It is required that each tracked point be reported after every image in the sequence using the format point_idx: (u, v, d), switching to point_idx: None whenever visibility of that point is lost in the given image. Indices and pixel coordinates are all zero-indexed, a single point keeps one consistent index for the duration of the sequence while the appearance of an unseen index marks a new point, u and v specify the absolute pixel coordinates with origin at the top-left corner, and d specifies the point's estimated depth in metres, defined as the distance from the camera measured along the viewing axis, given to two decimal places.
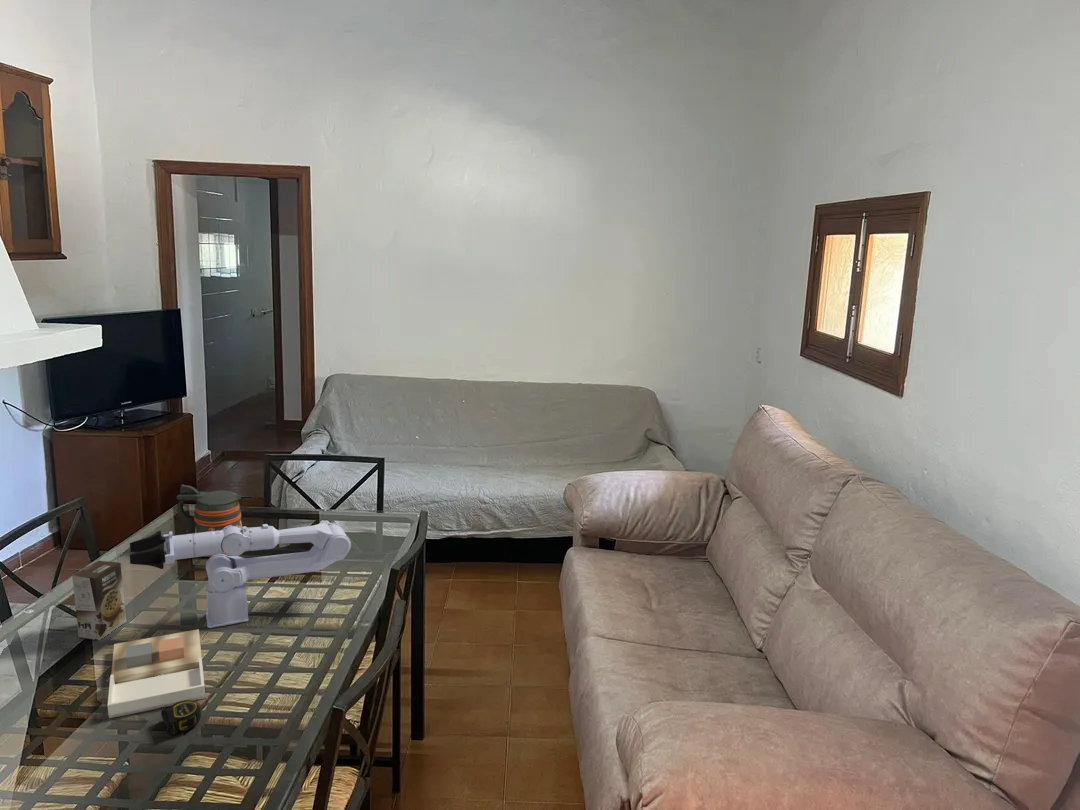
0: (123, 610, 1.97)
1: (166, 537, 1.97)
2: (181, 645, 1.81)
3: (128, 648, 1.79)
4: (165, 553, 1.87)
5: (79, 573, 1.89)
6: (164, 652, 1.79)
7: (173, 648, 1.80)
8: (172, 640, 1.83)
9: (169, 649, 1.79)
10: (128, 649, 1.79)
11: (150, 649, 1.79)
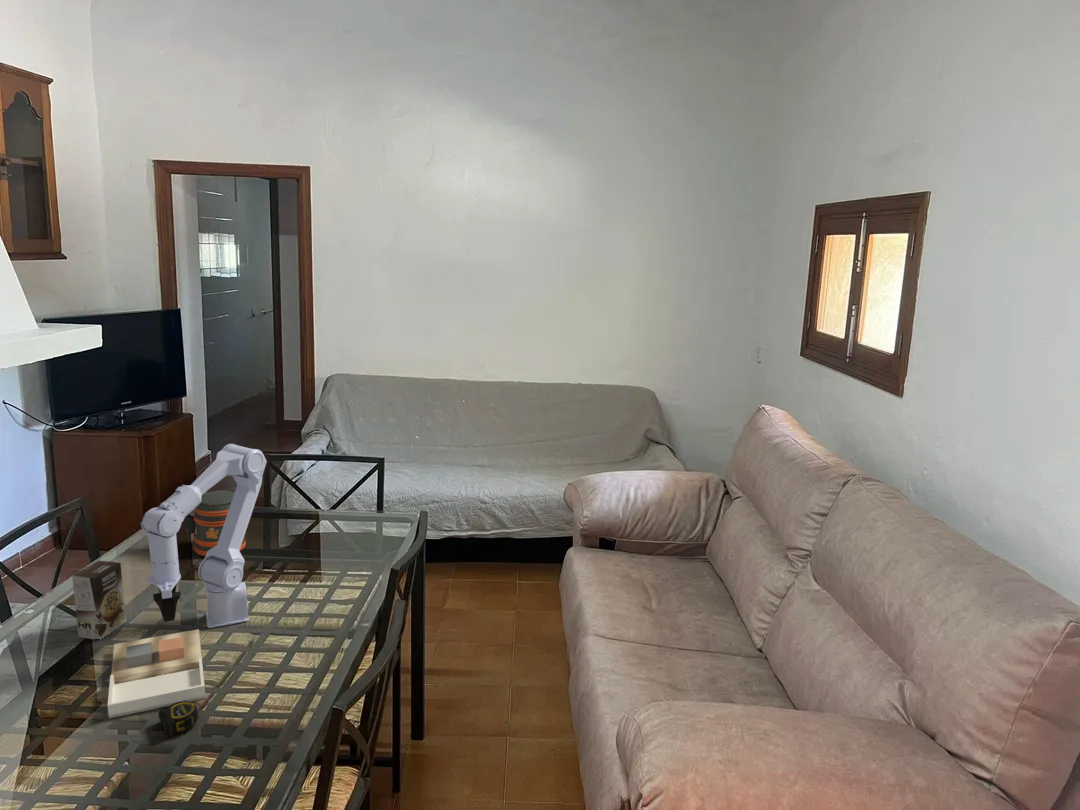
0: (123, 610, 1.97)
1: None
2: (181, 645, 1.81)
3: (128, 648, 1.79)
4: None
5: (79, 573, 1.89)
6: (164, 652, 1.79)
7: (173, 648, 1.80)
8: (172, 640, 1.83)
9: (169, 649, 1.79)
10: (128, 649, 1.79)
11: (150, 649, 1.79)
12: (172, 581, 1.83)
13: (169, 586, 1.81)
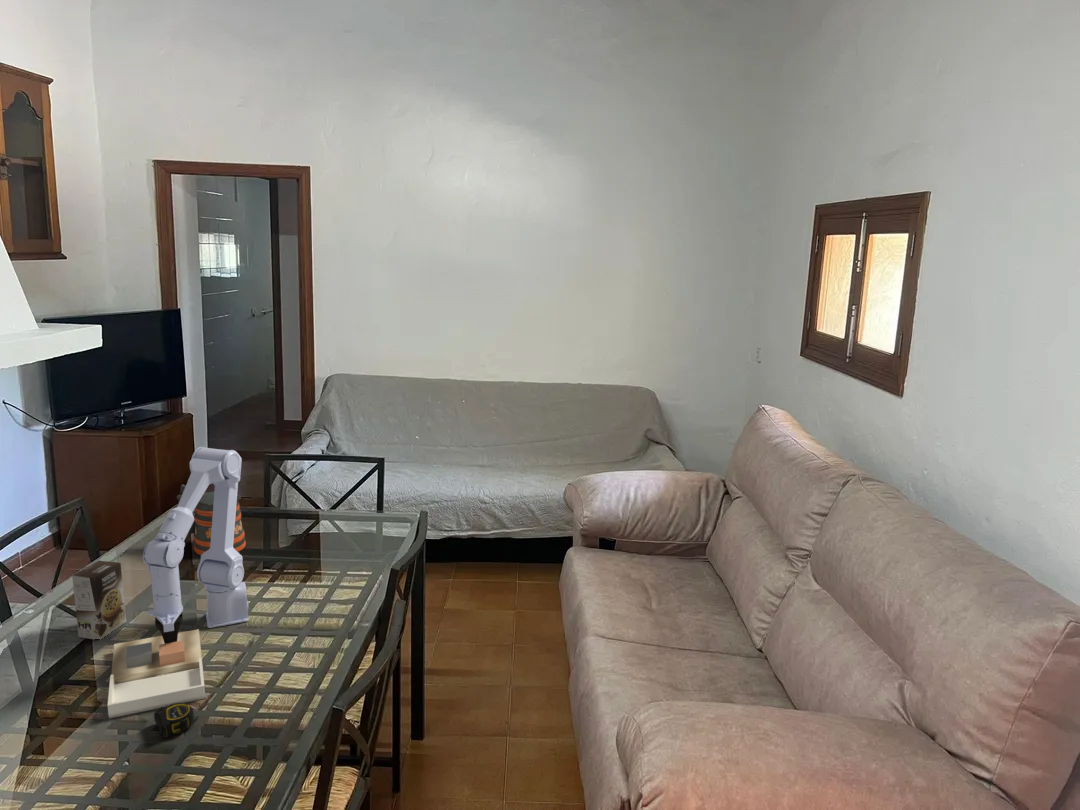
0: (123, 610, 1.97)
1: None
2: (181, 649, 1.79)
3: (128, 648, 1.79)
4: None
5: (79, 573, 1.89)
6: (164, 656, 1.77)
7: (174, 651, 1.78)
8: (173, 644, 1.81)
9: (169, 653, 1.78)
10: (128, 649, 1.79)
11: (150, 649, 1.79)
12: (174, 613, 1.79)
13: (171, 619, 1.77)
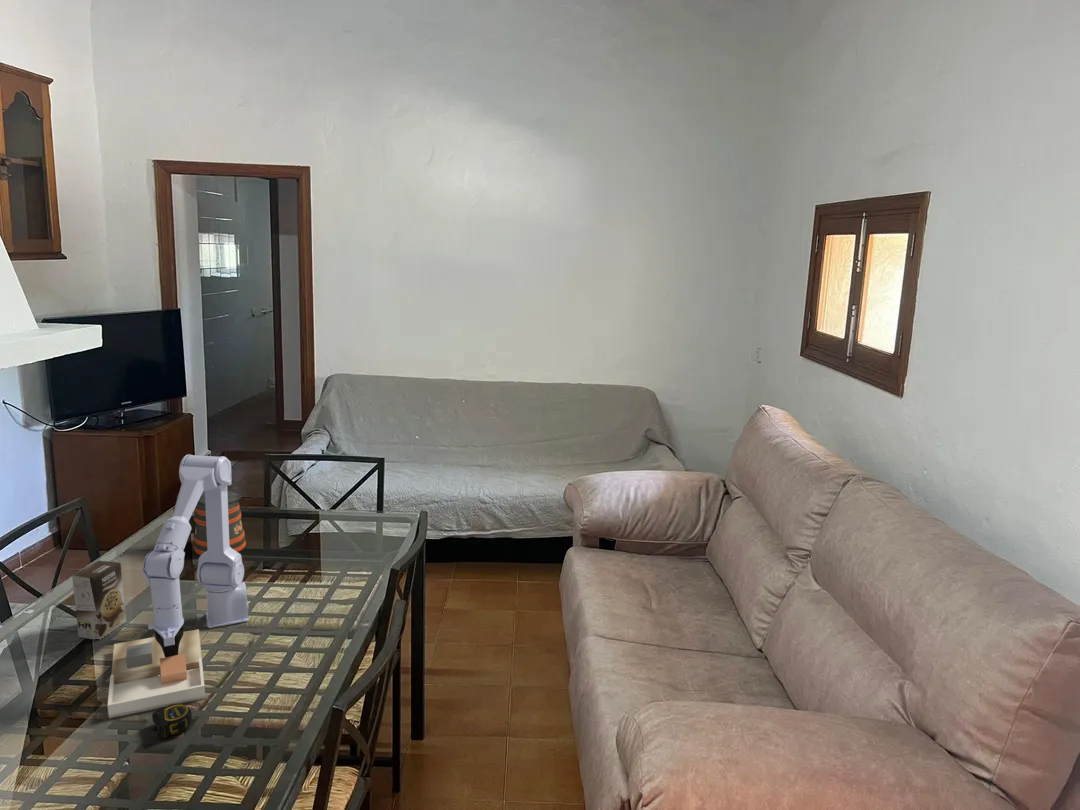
0: (123, 610, 1.97)
1: None
2: (184, 667, 1.74)
3: (128, 648, 1.79)
4: None
5: (79, 573, 1.89)
6: (166, 676, 1.72)
7: (176, 671, 1.73)
8: (174, 659, 1.76)
9: (171, 673, 1.73)
10: (128, 649, 1.79)
11: (150, 649, 1.79)
12: (175, 626, 1.74)
13: (172, 632, 1.72)
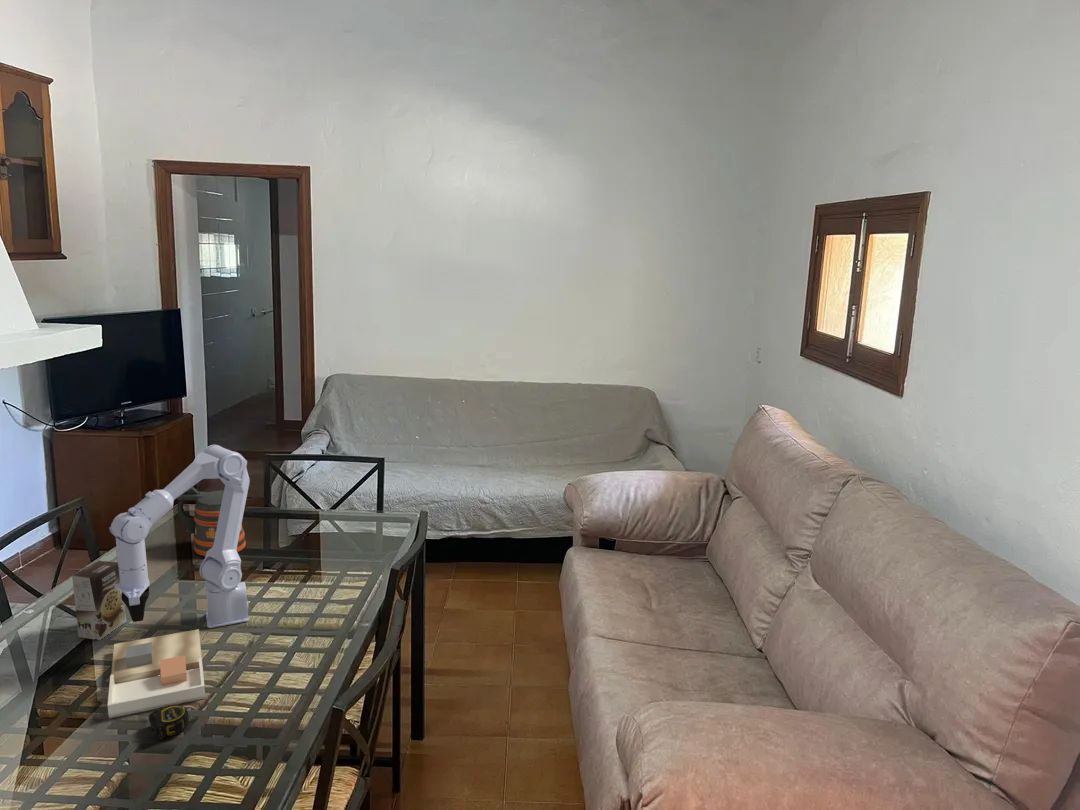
0: (123, 610, 1.97)
1: None
2: (184, 669, 1.74)
3: (128, 648, 1.79)
4: None
5: (79, 573, 1.89)
6: (166, 677, 1.72)
7: (176, 672, 1.73)
8: (174, 661, 1.75)
9: (171, 674, 1.72)
10: (128, 649, 1.79)
11: (150, 649, 1.79)
12: (140, 587, 1.80)
13: (137, 593, 1.78)
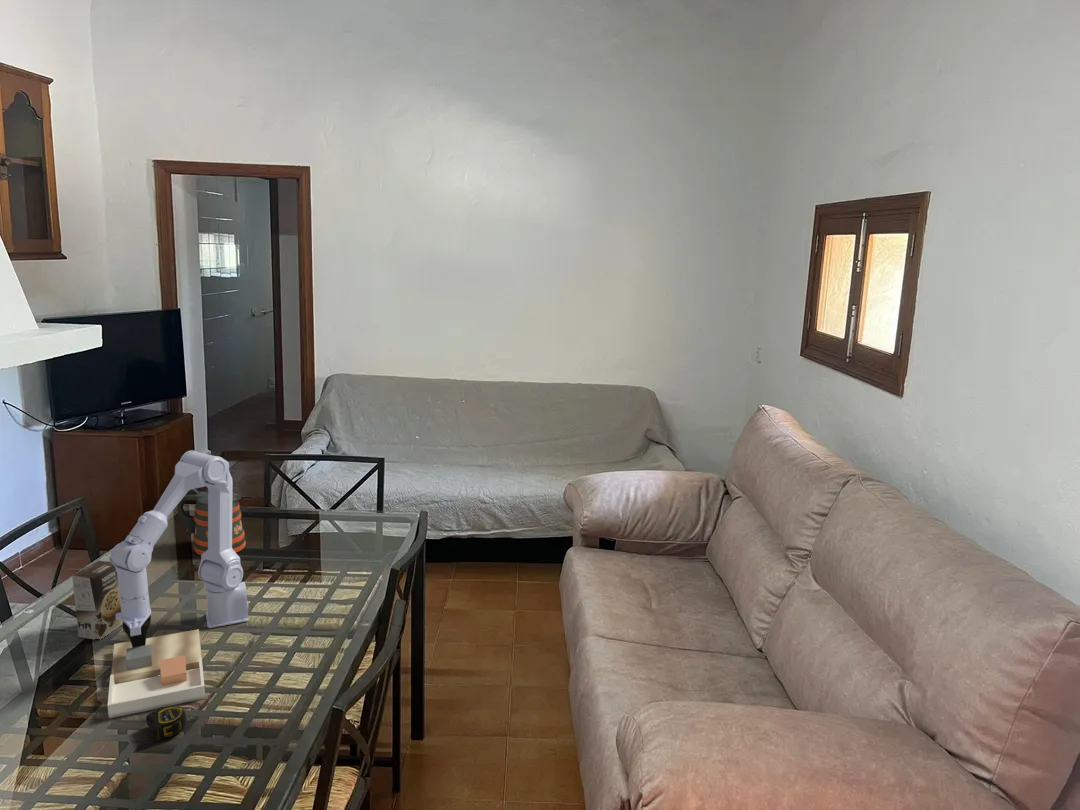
0: None
1: None
2: (184, 669, 1.74)
3: (128, 650, 1.78)
4: None
5: (79, 573, 1.89)
6: (166, 677, 1.72)
7: (176, 672, 1.73)
8: (174, 661, 1.75)
9: (171, 674, 1.72)
10: (128, 651, 1.78)
11: (150, 651, 1.78)
12: (142, 617, 1.77)
13: (138, 622, 1.75)
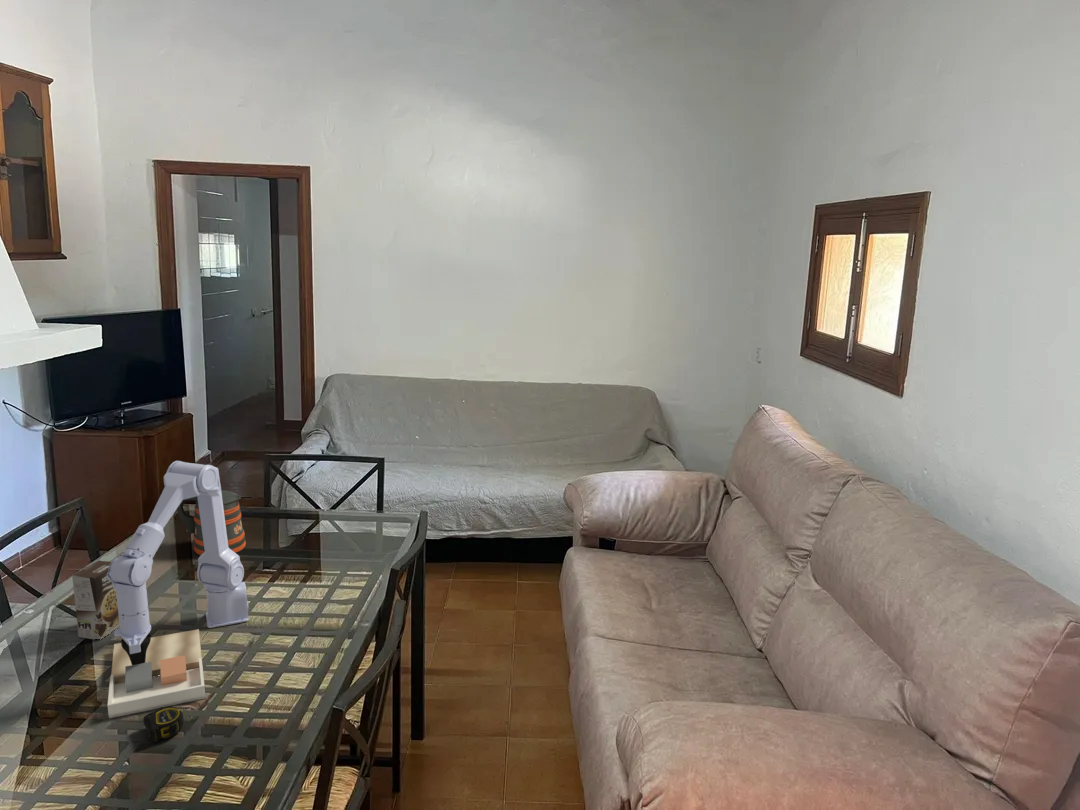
0: None
1: None
2: (184, 669, 1.74)
3: (127, 669, 1.72)
4: None
5: (79, 573, 1.89)
6: (166, 677, 1.72)
7: (176, 672, 1.73)
8: (174, 661, 1.75)
9: (171, 674, 1.72)
10: (127, 671, 1.71)
11: (150, 673, 1.72)
12: (141, 633, 1.71)
13: (138, 639, 1.68)
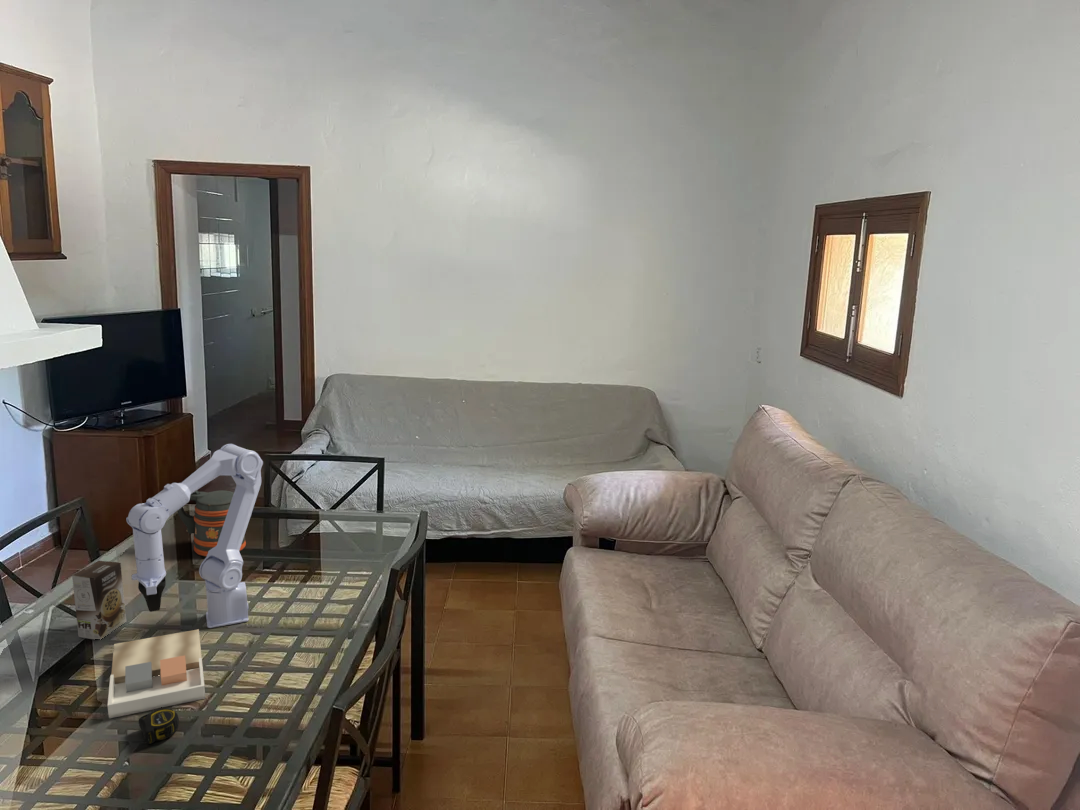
0: (123, 610, 1.97)
1: None
2: (184, 669, 1.74)
3: (127, 669, 1.72)
4: None
5: (79, 573, 1.89)
6: (166, 677, 1.72)
7: (176, 672, 1.73)
8: (174, 661, 1.75)
9: (171, 674, 1.72)
10: (127, 671, 1.71)
11: (150, 673, 1.72)
12: (157, 577, 1.82)
13: (154, 582, 1.80)
